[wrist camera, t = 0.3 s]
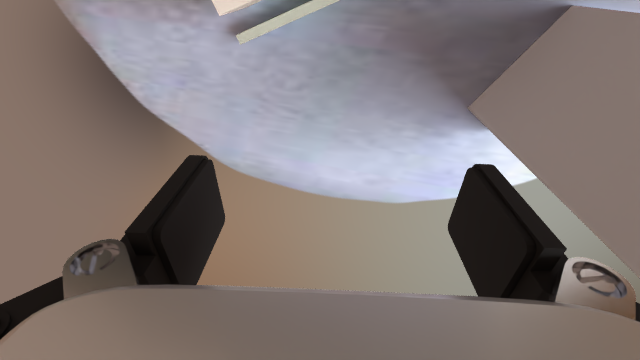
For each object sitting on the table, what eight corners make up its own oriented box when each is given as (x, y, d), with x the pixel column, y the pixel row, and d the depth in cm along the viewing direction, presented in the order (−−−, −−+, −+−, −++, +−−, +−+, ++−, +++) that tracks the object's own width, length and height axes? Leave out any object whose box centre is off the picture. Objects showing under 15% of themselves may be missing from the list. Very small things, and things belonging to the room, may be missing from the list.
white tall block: (493, 130, 40) (744, 371, 16) (466, 108, 39) (697, 338, 14) (600, 36, 33) (1364, 206, 9) (572, 5, 32) (1412, 101, 7)
